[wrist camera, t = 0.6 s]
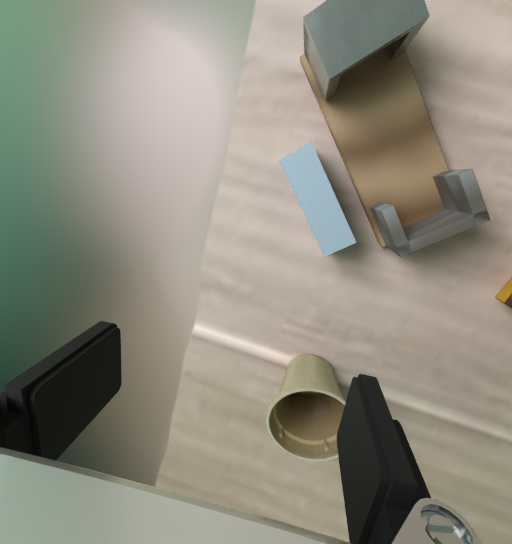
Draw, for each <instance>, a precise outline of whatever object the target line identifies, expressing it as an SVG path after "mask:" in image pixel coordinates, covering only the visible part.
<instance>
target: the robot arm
mask: <svg viewBox="0 0 512 544" xmlns="http://www.w3.org/2000/svg"><path fill="white" fill-rule="evenodd" d="M120 339H121V338H120V329H119V328H117V325H116V324H114V323H108V322H104V321H100V322H98V323H97V324H95V325H94V326H92V327H91V328H89V329H88V330H86V331H85V332H83V333H82V334H80V335H79V336H77V337H76V338H74V339H73V340H71V341H70V342H68V343H67V344H65V345H64V346H62V347H61V348H59V349H58V350H56V351H55V352H53V353H52V354H50V355H49V356H47V357H46V358H44V359H43V360H41V361H40V362H38V363H37V364H35V365H34V366H32V367H31V368H29V369H28V370H26V371H25V372H23V373H22V374H20V375H19V376H17V377H16V378H14V379H13V380H11V381H10V382H8V383H7V384H5V385H4V389H5V391H4V392H2V393H1V394H0V544H481V542H480V540H479V538H478V536H477V534H476V533H475V531H474V529H473V528H472V527H471V526H470V524H469V523H468V522H467V521H466V519H465V518H464V517H462V516H461V515H460V514H459V513H458V512H457V511H456V510H455V509H453V508H452V507H450V506H449V505H447V504H446V503H443V502H441V501H439V500H436V499H432V498H431V496H430V494H429V492H428V489H427V487H426V484H425V482H424V479H423V477H422V475H421V472H420V470H419V467H418V465H417V463H416V460H415V458H414V455H413V453H412V450H411V448H410V446H409V443H408V441H407V438H406V436H405V433H404V431H403V429H402V426H401V424H400V423H399V422H398V421H397V420H393V419H392V417H391V414H390V411H389V409H388V406H387V404H386V401H385V399H384V396H383V393H382V391H381V388H380V386H379V383H378V380H377V378H376V377H372V376H367V375H362V374H359V376H358V378H357V377H353V379H352V382H351V386H350V389H349V393H348V396H347V400H346V403H345V407H344V410H343V414H342V418H341V421H340V425H339V428H338V432H337V449H338V457H339V464H340V472H341V479H342V487H343V494H344V502H345V509H346V517H347V524H348V532H349V540H350V543H348V542H345V541H342V540H340V539H337V538H334V537H331V536H327V535H324V534H321V533H317V532H314V531H310V530H307V529H304V528H300V527H297V526H294V525H290V524H287V523H284V522H280V521H277V520H273V519H269V518H266V517H262V516H258V515H255V514H251V513H248V512H244V511H240V510H237V509H233V508H230V507H226V506H222V505H219V504H215V503H211V502H208V501H204V500H201V499H197V498H193V497H189V496H186V495H182V494H178V493H175V492H171V491H167V490H164V489H160V488H156V487H152V486H149V485H145V484H141V483H138V482H134V481H130V480H126V479H123V478H119V477H115V476H112V475H108V474H104V473H100V472H96V471H92V470H89V469H84V468H81V467H77V466H73V465H69V464H66V463H62V462H58V461H56V460H57V459H58V457H60V455H61V454H62V453H63V452H64V451H65V450H66V449H67V448H68V446H69V445H70V444H71V443H72V442H73V441H74V440H75V439H76V438H77V436H78V435H79V434H80V433H81V432H82V431H83V430H84V429H85V428H86V427H87V425H88V424H89V423H90V422H91V421H92V420H93V419H94V418H95V417H96V415H97V414H98V413H99V412H100V411H101V410H102V409H103V408H104V407H105V405H106V404H107V403H108V402H109V401H110V400H111V399H112V398H113V397H114V395H115V394H116V393H117V392H118V391H119V389H120V386H121V341H120Z"/></svg>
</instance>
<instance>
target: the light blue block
mask: <svg viewBox="0 0 512 544" xmlns="http://www.w3.org/2000/svg"><path fill="white" fill-rule="evenodd" d="M279 162H280V164H281V166H282V168H283V170H284V172H285V174H286V176H287V179H288V181H289V183H290V185H291V187H292V189H293V191H294V193H295V195H296V197H297V200H298V202H299V204H300V206H301V208H302V210H303V212H304V214H305V216H306V219H307V221H308V223H309V225H310V227H311V229H312V231H313V233H314V235H315V237H316V240H317V242H318V244H319V246H320V248H321V250H322V252H323V254H324V256H328V255H330V254H332V253H334V252H337V251H339V250H341V249H343V248H346V247H348V246H350V245H352V244H355V243H356V240H355V238H354V236H353V234H352V231H351V229H350V227H349V225H348V223H347V220H346V218H345V216H344V214H343V211H342V209H341V207H340V205H339V202H338V200H337V198H336V196H335V193H334V191H333V189H332V187H331V184H330V182H329V180H328V178H327V176H326V173H325V171H324V169H323V167H322V164H321V162H320V160H319V158H318V155H317V153H316V151H315V149H314V146H313V144H312V142H310V143H309V144H307V145H305V146H303V147H302V148H300V149H298V150H296V151H295V152H293V153H291V154H289V155H288V156H286V157H284V158H282V159H281V160H279Z"/></svg>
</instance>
